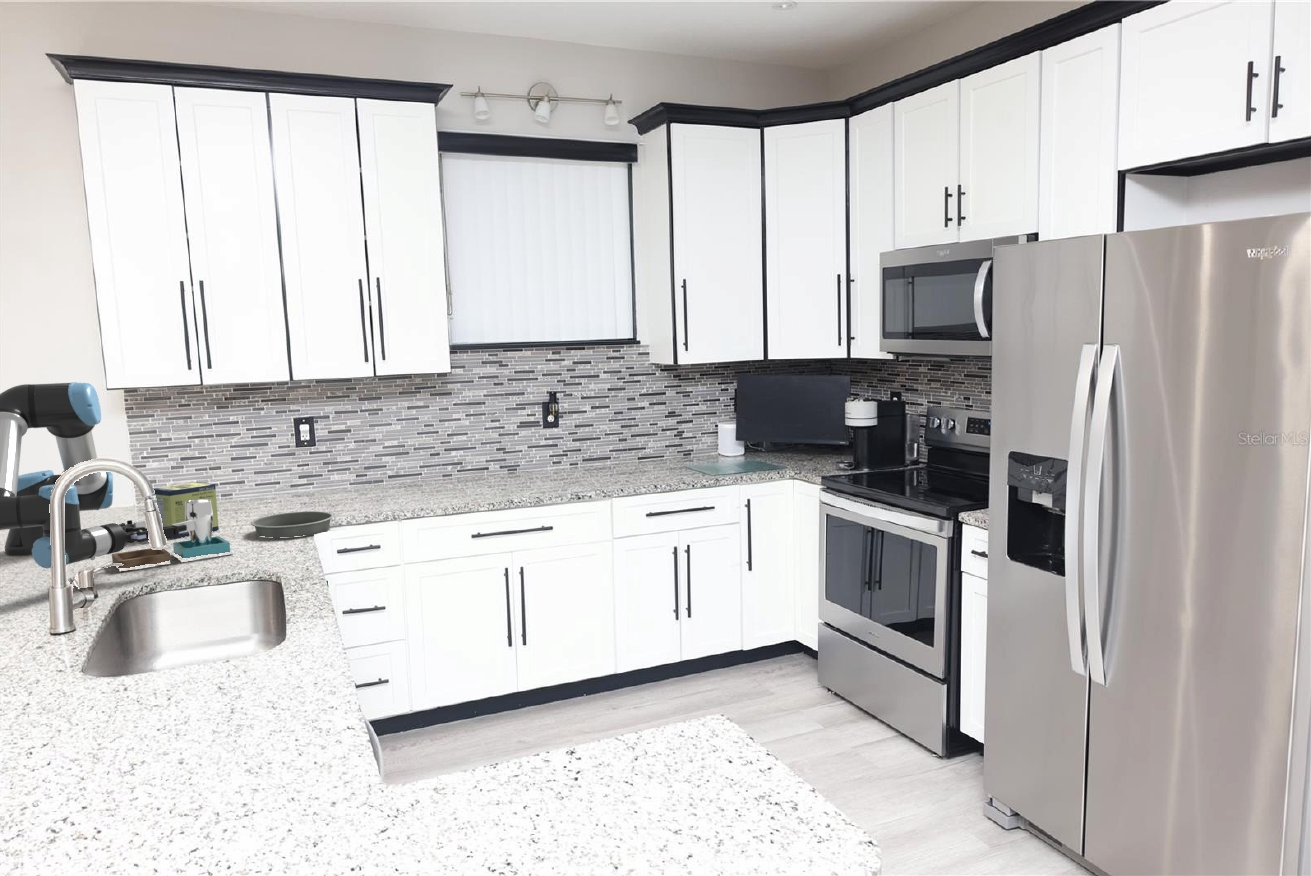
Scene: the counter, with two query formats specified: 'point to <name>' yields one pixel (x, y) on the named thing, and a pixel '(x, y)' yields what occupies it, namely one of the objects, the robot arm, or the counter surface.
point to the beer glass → (200, 521)
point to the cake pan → (292, 524)
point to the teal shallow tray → (201, 548)
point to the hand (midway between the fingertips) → (174, 523)
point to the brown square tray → (140, 557)
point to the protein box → (175, 498)
